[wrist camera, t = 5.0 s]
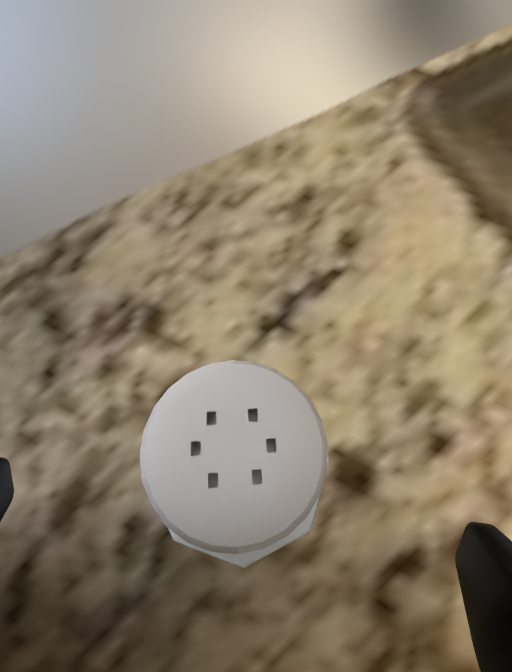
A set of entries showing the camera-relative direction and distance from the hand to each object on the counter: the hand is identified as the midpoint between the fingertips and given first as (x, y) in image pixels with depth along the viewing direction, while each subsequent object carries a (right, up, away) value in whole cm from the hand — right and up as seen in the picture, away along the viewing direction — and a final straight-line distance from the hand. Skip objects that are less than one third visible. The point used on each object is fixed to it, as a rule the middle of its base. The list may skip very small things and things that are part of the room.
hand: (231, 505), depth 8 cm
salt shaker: (0, -2, +8) cm, 9 cm away
